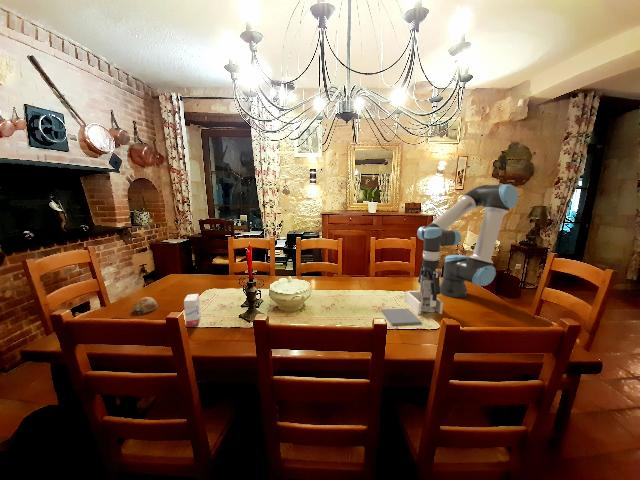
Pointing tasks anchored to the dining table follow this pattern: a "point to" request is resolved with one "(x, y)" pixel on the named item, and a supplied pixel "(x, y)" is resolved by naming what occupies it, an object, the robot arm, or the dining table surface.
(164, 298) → the dining table surface
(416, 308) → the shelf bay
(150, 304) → the grey brown rock
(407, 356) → the dining table surface
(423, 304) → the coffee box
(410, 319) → the slate pad
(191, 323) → the ink box
